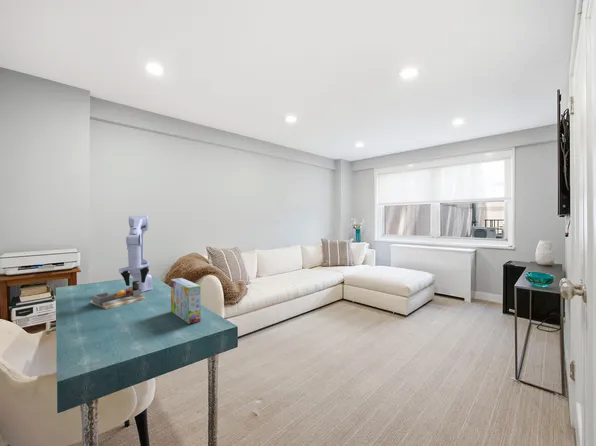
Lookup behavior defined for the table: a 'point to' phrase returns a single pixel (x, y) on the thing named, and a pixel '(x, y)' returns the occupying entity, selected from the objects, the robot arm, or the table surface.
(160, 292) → the table surface
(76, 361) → the table surface
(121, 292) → the ball
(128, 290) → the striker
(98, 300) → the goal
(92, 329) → the table surface
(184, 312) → the snack box
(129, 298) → the beige grooved board
